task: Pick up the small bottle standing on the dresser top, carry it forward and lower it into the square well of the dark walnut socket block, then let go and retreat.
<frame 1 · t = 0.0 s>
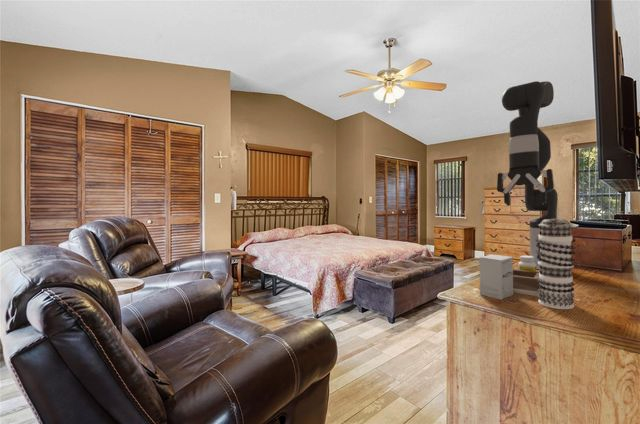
hand: (524, 205, 93), 29 cm above the table, fingers open, 8 cm apart
socket block: (523, 289, 103), on the table
supplement bottle: (527, 283, 109), on the table
supplement box: (496, 295, 100), on the table
decorative candle: (555, 304, 90), on the table
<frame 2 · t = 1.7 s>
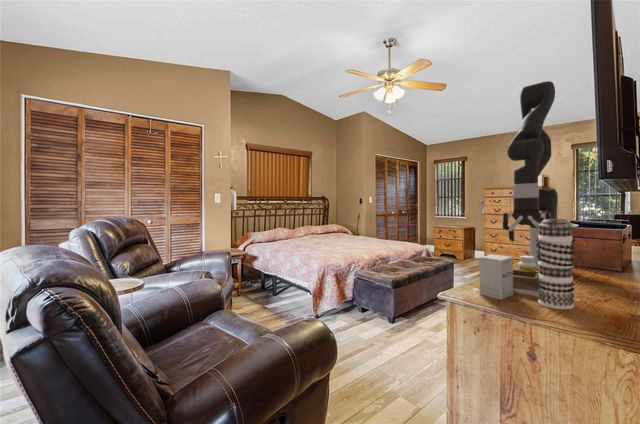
hand: (526, 241, 108), 15 cm above the table, fingers open, 8 cm apart
nothing on the table moved.
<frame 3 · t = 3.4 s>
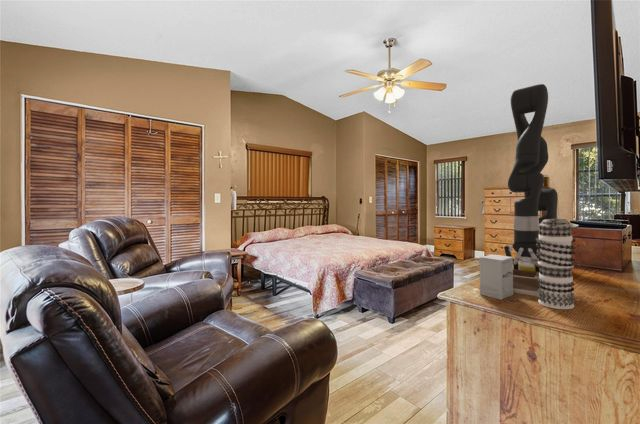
hand: (527, 275, 109), 3 cm above the table, fingers closed on supplement bottle, 5 cm apart
supplement bottle: (527, 283, 109), on the table, touching gripper
everything else where it was.
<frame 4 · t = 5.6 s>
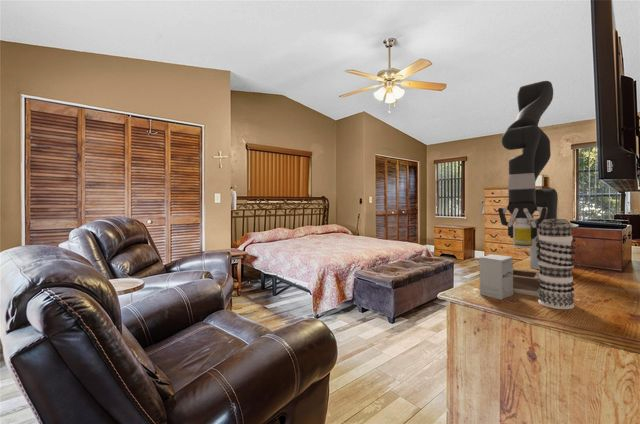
hand: (522, 237, 102), 18 cm above the table, fingers closed on supplement bottle, 5 cm apart
supplement bottle: (522, 247, 102), point 14 cm above the table, touching gripper
everything else where it was.
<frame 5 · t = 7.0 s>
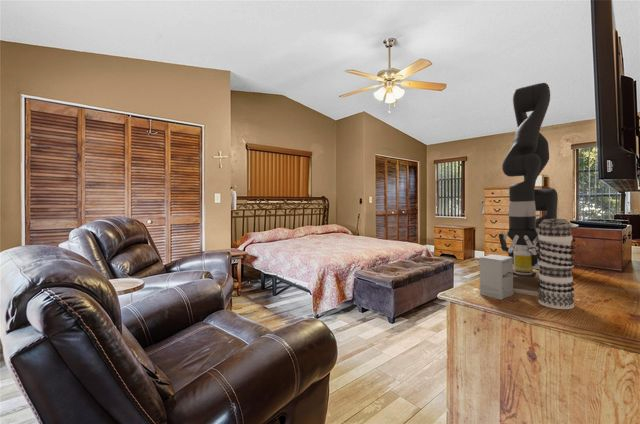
hand: (522, 264, 103), 9 cm above the table, fingers closed on supplement bottle, 5 cm apart
supplement bottle: (523, 273, 103), point 5 cm above the table, touching gripper
everything else where it was.
when the fingers open (6 cm above the table, at t = 8.0 s): supplement bottle drops 2 cm, resting on socket block.
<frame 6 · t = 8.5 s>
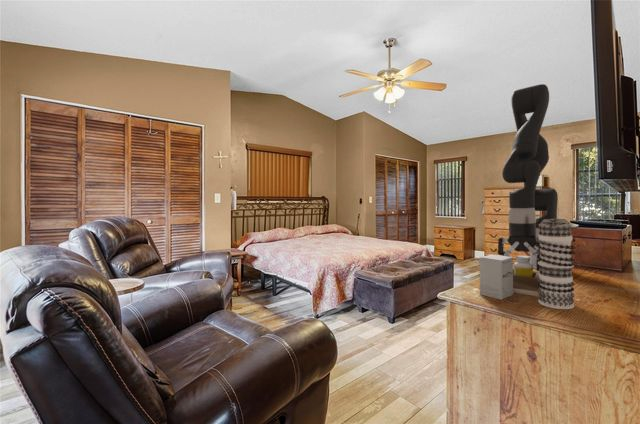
hand: (522, 269, 103), 7 cm above the table, fingers open, 8 cm apart
supplement bottle: (523, 285, 103), point 1 cm above the table, touching socket block
everything else where it was.
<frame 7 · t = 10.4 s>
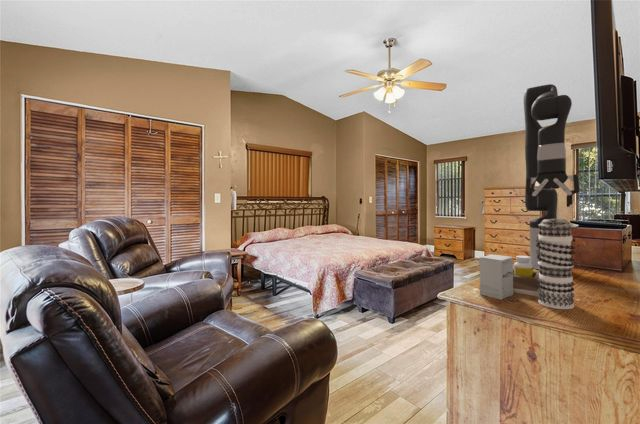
hand: (551, 206, 102), 28 cm above the table, fingers open, 8 cm apart
nothing on the table moved.
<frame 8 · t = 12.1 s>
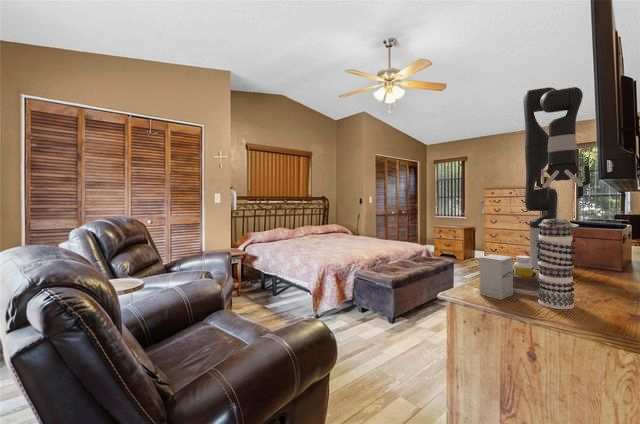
hand: (562, 198, 102), 30 cm above the table, fingers open, 8 cm apart
nothing on the table moved.
at the end: supplement bottle 0.1 cm off-centre on the socket block, point 1.3 cm above the socket block's base; supplement bottle tilted 0°; the gripper is holding nothing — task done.
